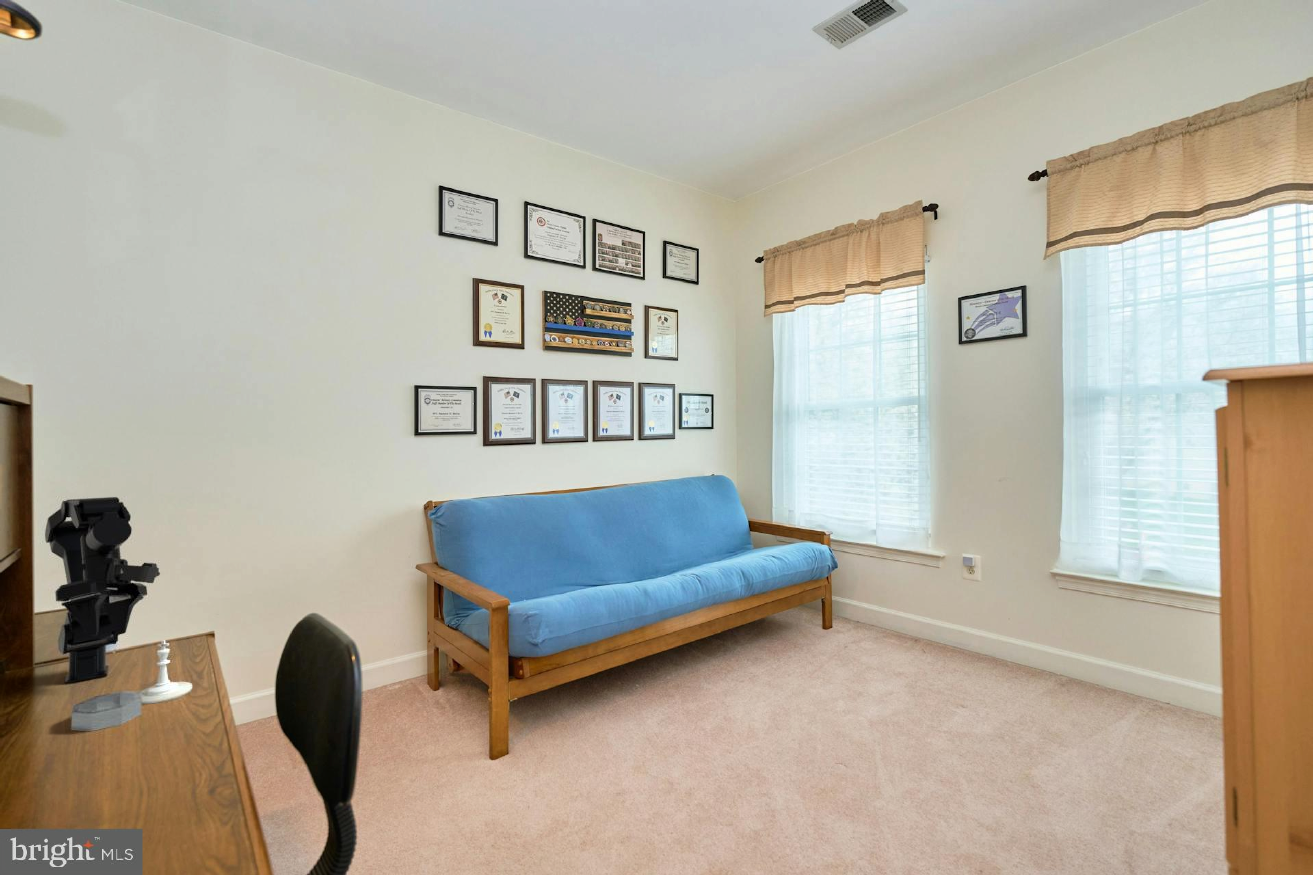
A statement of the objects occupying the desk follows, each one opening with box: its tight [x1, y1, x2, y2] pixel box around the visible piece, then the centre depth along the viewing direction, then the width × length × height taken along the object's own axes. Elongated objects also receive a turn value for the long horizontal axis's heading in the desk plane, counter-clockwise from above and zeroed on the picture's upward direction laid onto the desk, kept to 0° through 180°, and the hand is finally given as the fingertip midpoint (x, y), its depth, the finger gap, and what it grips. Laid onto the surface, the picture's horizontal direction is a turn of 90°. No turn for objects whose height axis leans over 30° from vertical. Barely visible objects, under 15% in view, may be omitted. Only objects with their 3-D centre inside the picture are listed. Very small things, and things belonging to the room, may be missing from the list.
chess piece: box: [147, 639, 179, 696], centre depth 119 cm, size 5×5×10 cm
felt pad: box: [139, 681, 193, 705], centre depth 119 cm, size 9×9×1 cm
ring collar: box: [71, 690, 142, 732], centre depth 108 cm, size 9×9×3 cm
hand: (108, 634), depth 118 cm, fingers open, 9 cm apart
